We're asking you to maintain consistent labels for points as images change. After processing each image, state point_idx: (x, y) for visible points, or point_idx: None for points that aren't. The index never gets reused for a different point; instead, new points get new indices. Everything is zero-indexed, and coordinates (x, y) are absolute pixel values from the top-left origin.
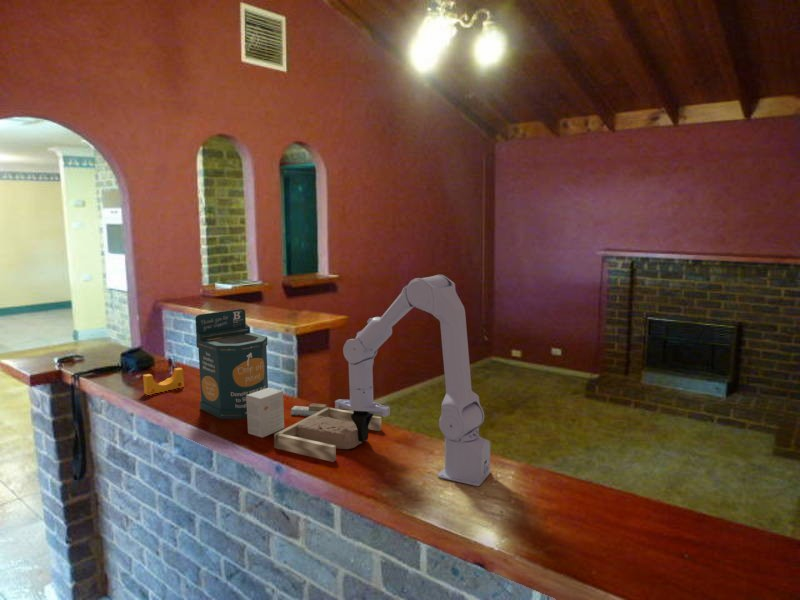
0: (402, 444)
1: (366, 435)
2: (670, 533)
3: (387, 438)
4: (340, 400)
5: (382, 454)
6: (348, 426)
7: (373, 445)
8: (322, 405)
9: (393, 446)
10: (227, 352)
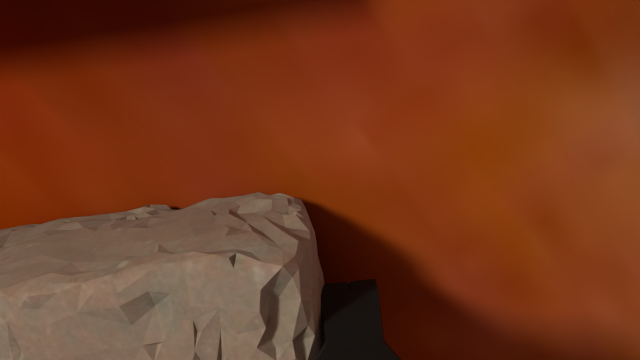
0: (636, 72)
1: (381, 322)
2: None
3: (433, 35)
4: None
5: (573, 327)
6: None
7: (415, 237)
8: None
9: (579, 158)
10: None
